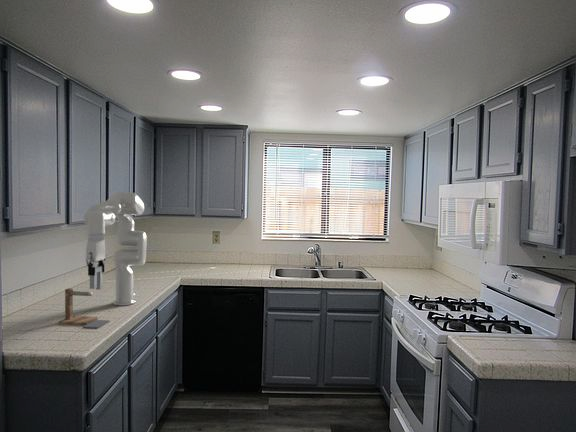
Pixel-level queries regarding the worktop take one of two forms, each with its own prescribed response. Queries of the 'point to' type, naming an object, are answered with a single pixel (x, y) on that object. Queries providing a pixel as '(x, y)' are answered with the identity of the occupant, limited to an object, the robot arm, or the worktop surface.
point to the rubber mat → (96, 324)
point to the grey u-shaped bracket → (97, 279)
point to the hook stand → (69, 309)
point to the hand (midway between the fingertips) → (96, 273)
